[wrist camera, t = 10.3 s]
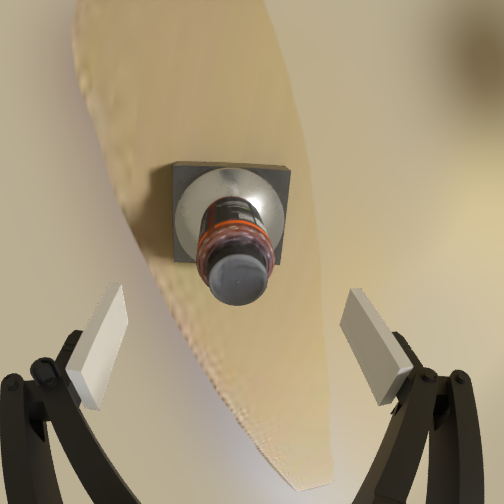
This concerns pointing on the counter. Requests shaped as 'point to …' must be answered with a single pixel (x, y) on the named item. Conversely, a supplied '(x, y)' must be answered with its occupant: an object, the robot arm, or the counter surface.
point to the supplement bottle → (234, 251)
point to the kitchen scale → (222, 185)
